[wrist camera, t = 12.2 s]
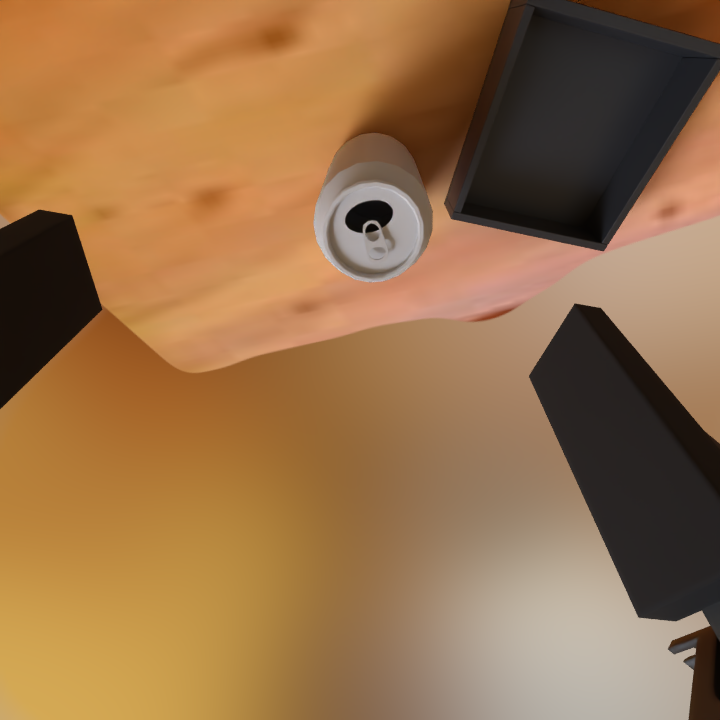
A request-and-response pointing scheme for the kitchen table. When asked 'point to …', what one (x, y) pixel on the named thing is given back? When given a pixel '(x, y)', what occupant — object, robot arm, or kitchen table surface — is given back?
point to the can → (373, 209)
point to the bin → (575, 120)
